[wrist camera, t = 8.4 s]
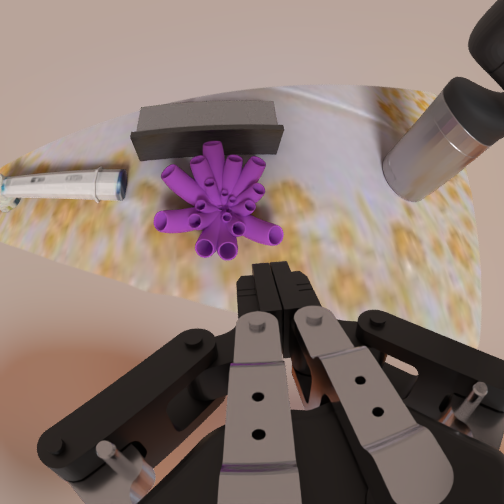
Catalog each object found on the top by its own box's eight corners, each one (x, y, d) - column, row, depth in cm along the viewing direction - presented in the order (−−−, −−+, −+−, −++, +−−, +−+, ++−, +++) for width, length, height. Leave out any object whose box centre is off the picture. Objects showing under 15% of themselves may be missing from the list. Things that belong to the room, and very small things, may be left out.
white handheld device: (117, 196, 30) (-28, 197, 24) (126, 217, 37) (-8, 214, 31) (125, 158, 32) (-17, 165, 26) (131, 183, 38) (1, 184, 32)
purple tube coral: (209, 275, 36) (151, 266, 28) (203, 173, 40) (155, 146, 32) (291, 257, 31) (243, 239, 23) (272, 143, 35) (230, 102, 26)
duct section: (271, 123, 40) (277, 98, 34) (276, 154, 38) (284, 129, 33) (144, 129, 37) (136, 105, 32) (140, 161, 36) (130, 137, 30)
